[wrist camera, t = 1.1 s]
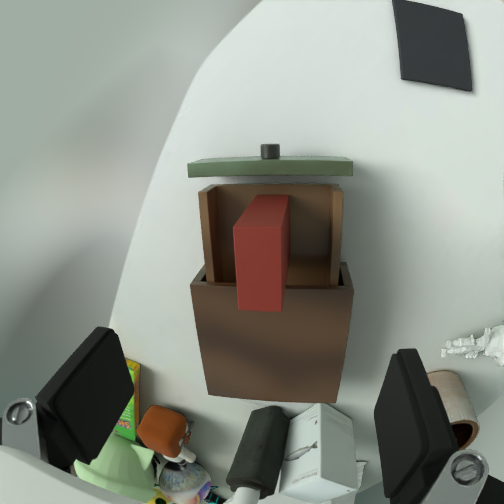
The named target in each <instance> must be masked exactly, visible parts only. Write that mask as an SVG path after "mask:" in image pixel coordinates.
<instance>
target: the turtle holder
mask: <svg viewBox="0 0 504 504" xmlns="http://www.w3.org/2000/svg"><path fill="white" fill-rule="evenodd" d="M154 490H155V491H156V492H157V494H156V495H155V496H154V497H153V498H152V499H151V500H150V501H149V502H148V503H147V504H176V503H174V502H172V501H170V500H169V499H168V498H166V497H165V496H164V494H163V493H162V492H161V490H160V487H159V486H154Z"/></svg>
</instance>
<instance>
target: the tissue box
mask: <svg viewBox="0 0 504 504" xmlns="http://www.w3.org/2000/svg"><path fill="white" fill-rule="evenodd" d="M365 464H366V462H356V467H357V481H358V489H359V488H360V487H361V481H362V474H363V469H364V465H365ZM280 475H281V470H280V474H279V478H278V482H277V486H276V489H275V493H274V495H271V496H267V497H266V498H265V499H262V500H258V504H312V503H308V502H305V501H301V500H298V499H295V498H292V497H289V496H286V495H283V494H280V493H279V485H280ZM358 489H357V490H355V491H352V492H350V493H347V494H344V495H342V496H339V497H337V498H334V499H331V500H328V501H325V502H322V503H319V504H354V502H355V496H356V493H357V491H358ZM235 493H236V492H234V495H233V496H232V497H231V498H229V499H228V500H227V501H226V502H224V503H223V504H232V501H233V498H234V496H235Z"/></svg>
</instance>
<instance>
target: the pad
mask: <svg viewBox="0 0 504 504" xmlns="http://www.w3.org/2000/svg"><path fill="white" fill-rule="evenodd" d="M392 3H393V10H394V16H395V23H396V31H397V39H398V48H399V58H400V70H401V79H403V80H410V81H417V82H424V83H430V84H435V85H441V86H446V87H451V88H456V89H461V90H465V91H472V79H471V68H470V59H469V51H468V44H467V37H466V31H465V25H464V20H463V14H461V13H457V12H454V11H450V10H447V9H443V8H439V7H435V6H430V5H426V4H422V3H417V2H412V1H406V0H392Z"/></svg>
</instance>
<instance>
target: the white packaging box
mask: <svg viewBox="0 0 504 504" xmlns="http://www.w3.org/2000/svg"><path fill="white" fill-rule="evenodd" d="M357 489H358V481H357V467H356V455H355V444H354V434H353V424H352V419H350V418H349V417H347V416H345V415H344V414H342V413H340V412H339V411H337V410H335V409H334V408H332V407H330V406H329V405H327V404H325V403H317V404H316V405H314V406H313V407H311V408H310V409H308V410H306V411H305V412H303V413H301V414H300V415H298V416H296V417H295V418H293V419H291V420H290V425H289V431H288V438H287V444H286V449H285V454H284V458H283V462H282V466H281V475H280V485H279V493H280V494H283V495H286V496H289V497H292V498H295V499H298V500H301V501H305V502H308V503H312V504H319V503H322V502H325V501H328V500H331V499H334V498H337V497H339V496H342V495H344V494H347V493H350V492H352V491H355V490H357Z"/></svg>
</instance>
